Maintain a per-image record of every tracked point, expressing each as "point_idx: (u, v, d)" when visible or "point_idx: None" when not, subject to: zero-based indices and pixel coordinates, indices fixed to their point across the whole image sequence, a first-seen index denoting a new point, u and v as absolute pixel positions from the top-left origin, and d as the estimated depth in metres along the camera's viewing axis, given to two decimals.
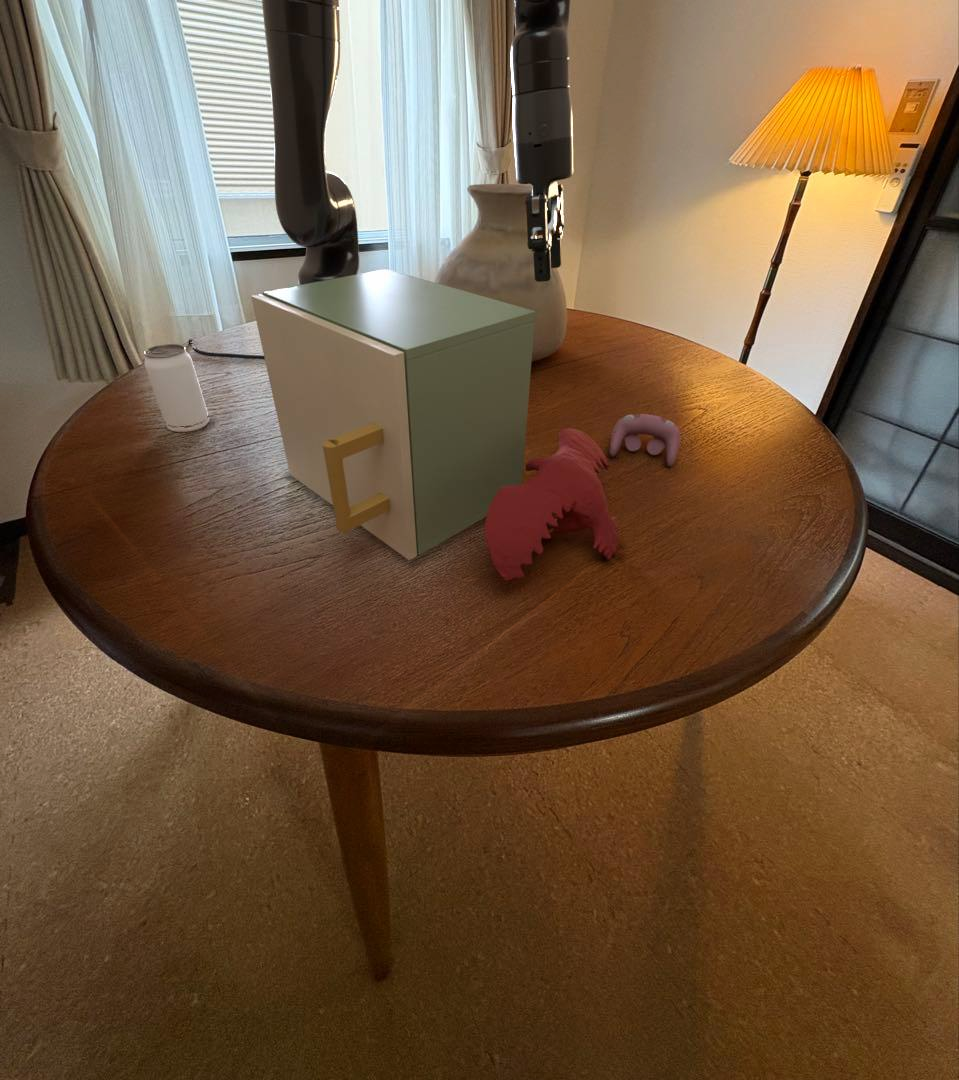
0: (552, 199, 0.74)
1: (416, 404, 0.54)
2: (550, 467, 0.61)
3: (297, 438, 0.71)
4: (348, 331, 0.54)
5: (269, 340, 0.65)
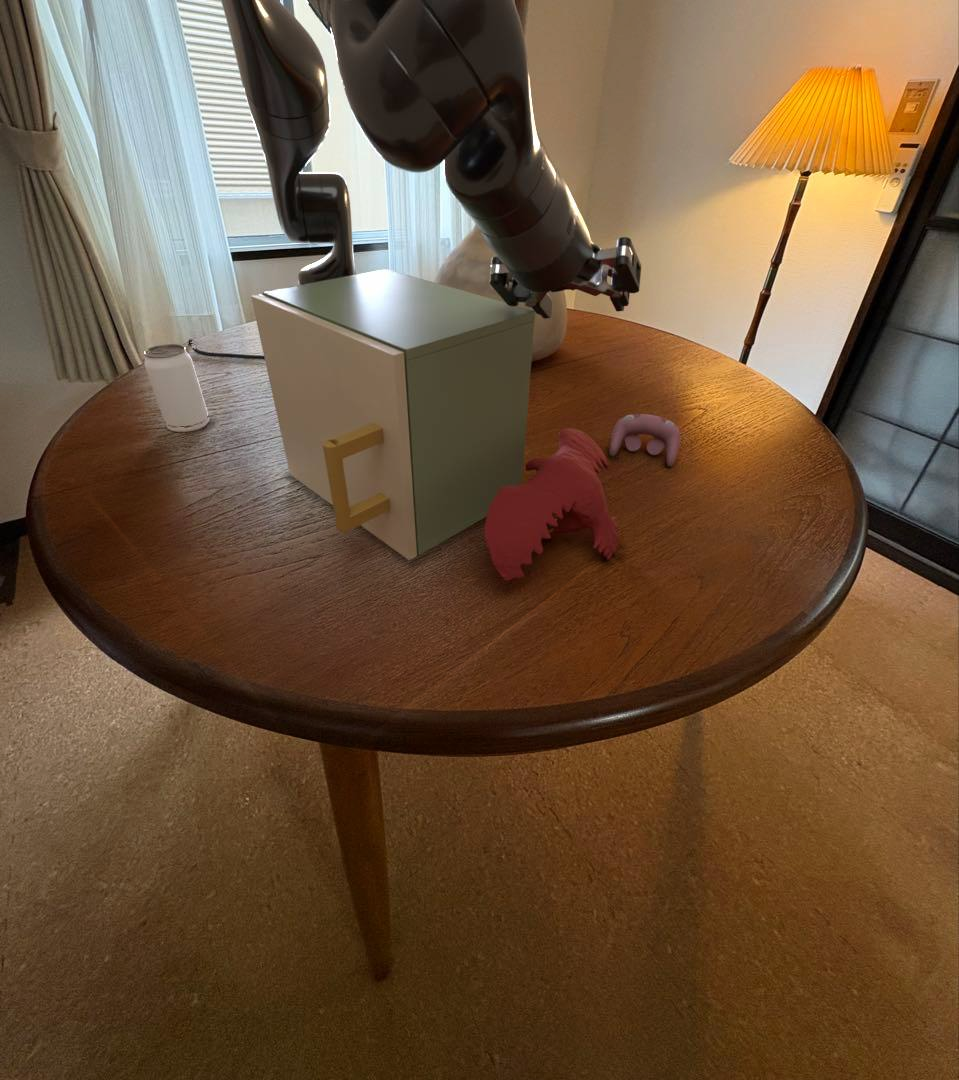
0: None
1: (416, 404, 0.54)
2: (550, 467, 0.61)
3: (297, 438, 0.71)
4: (348, 331, 0.54)
5: (269, 340, 0.65)
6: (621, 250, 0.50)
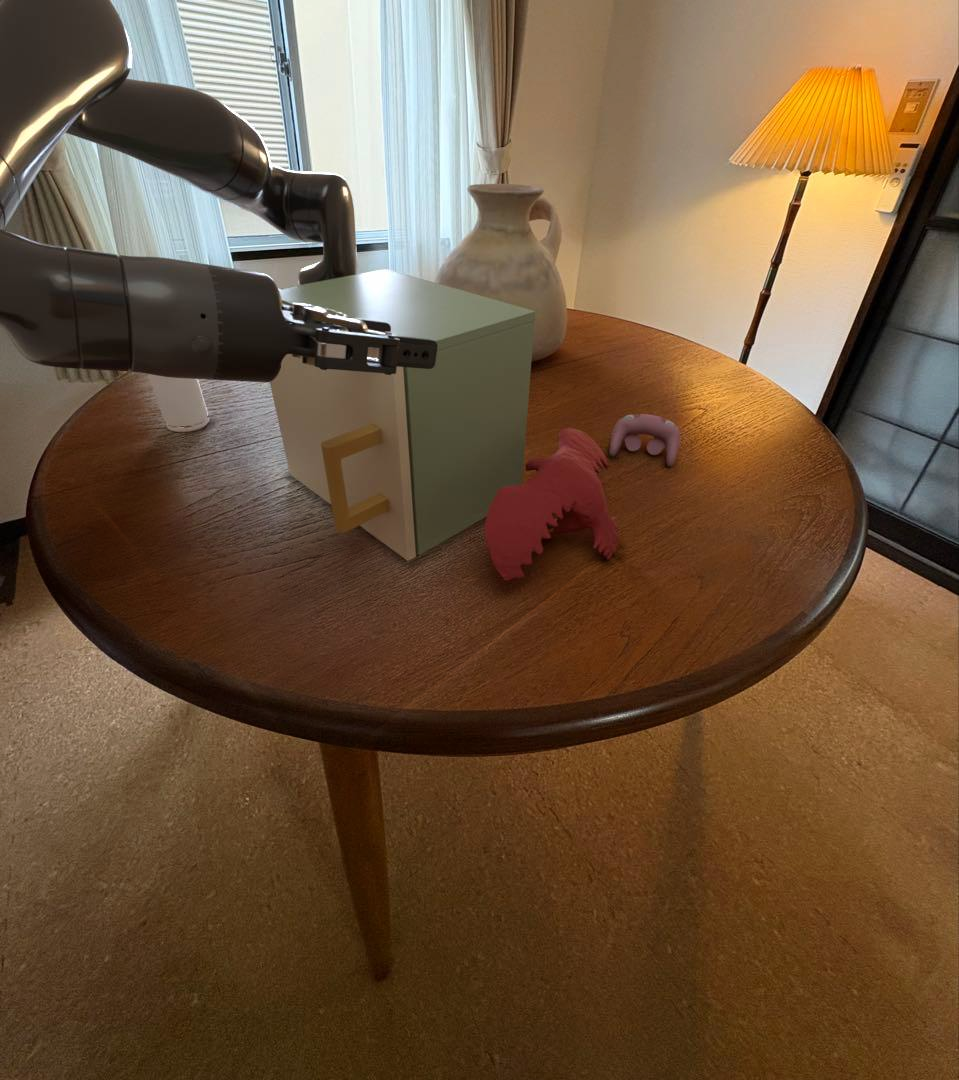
0: None
1: (416, 404, 0.54)
2: (550, 467, 0.61)
3: (297, 439, 0.71)
4: None
5: None
6: (315, 347, 0.38)
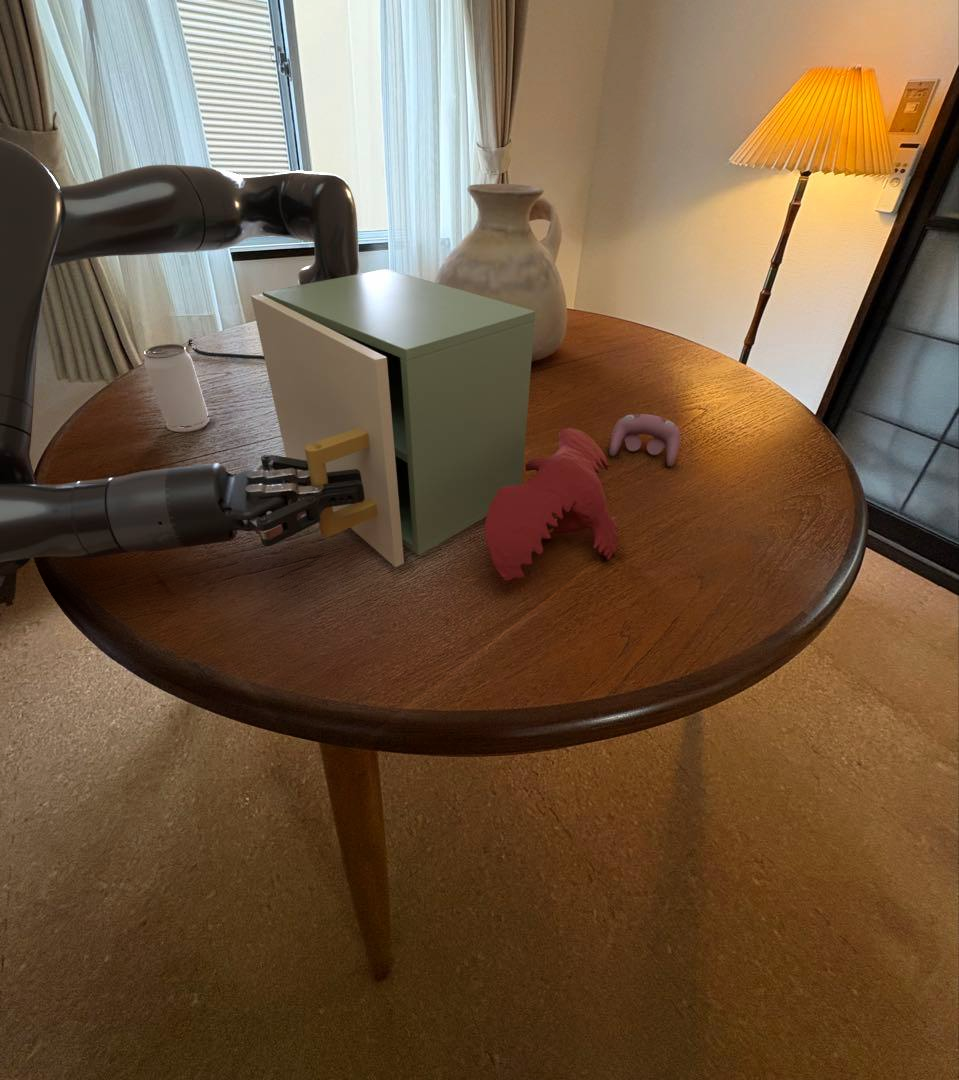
0: None
1: (416, 404, 0.54)
2: (550, 467, 0.61)
3: (294, 439, 0.71)
4: (336, 334, 0.54)
5: (268, 341, 0.65)
6: (260, 534, 0.50)
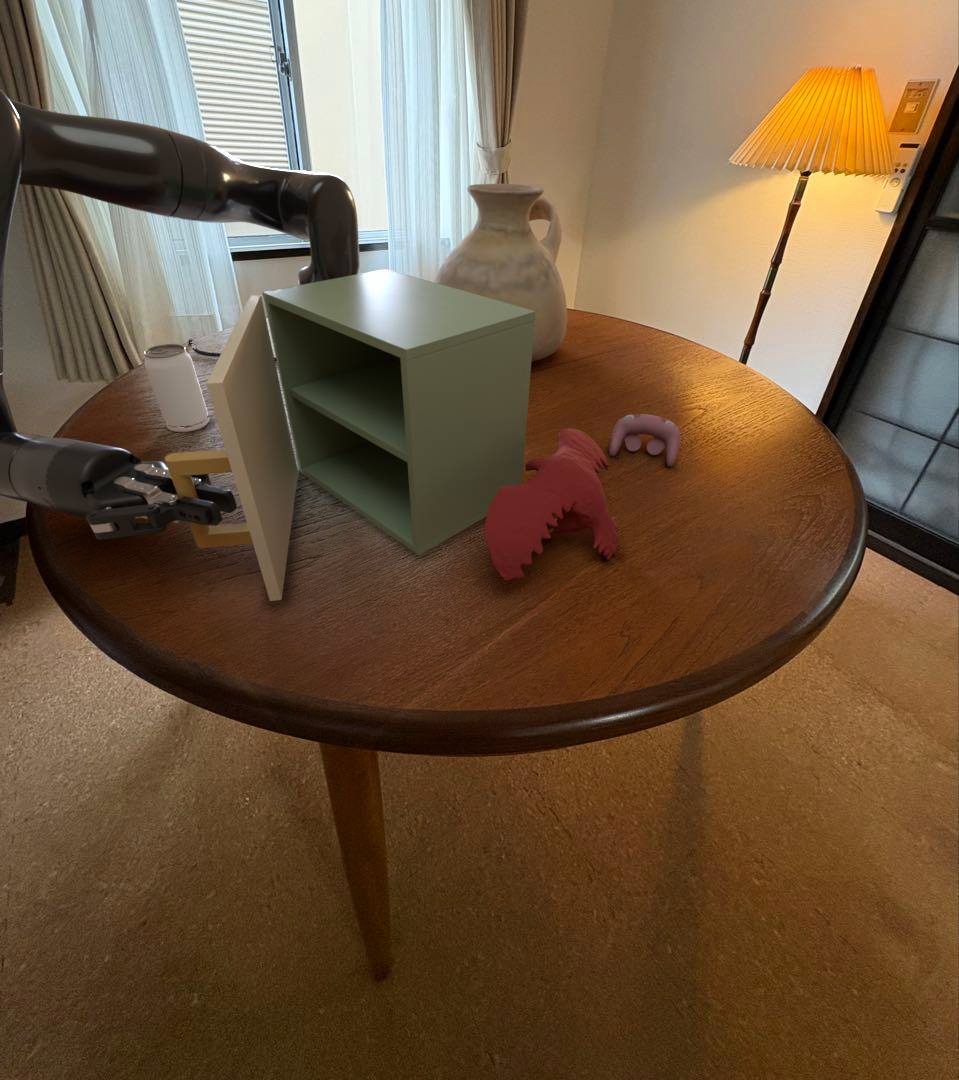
0: None
1: (416, 404, 0.54)
2: (550, 467, 0.61)
3: None
4: (233, 347, 0.50)
5: None
6: (91, 526, 0.50)
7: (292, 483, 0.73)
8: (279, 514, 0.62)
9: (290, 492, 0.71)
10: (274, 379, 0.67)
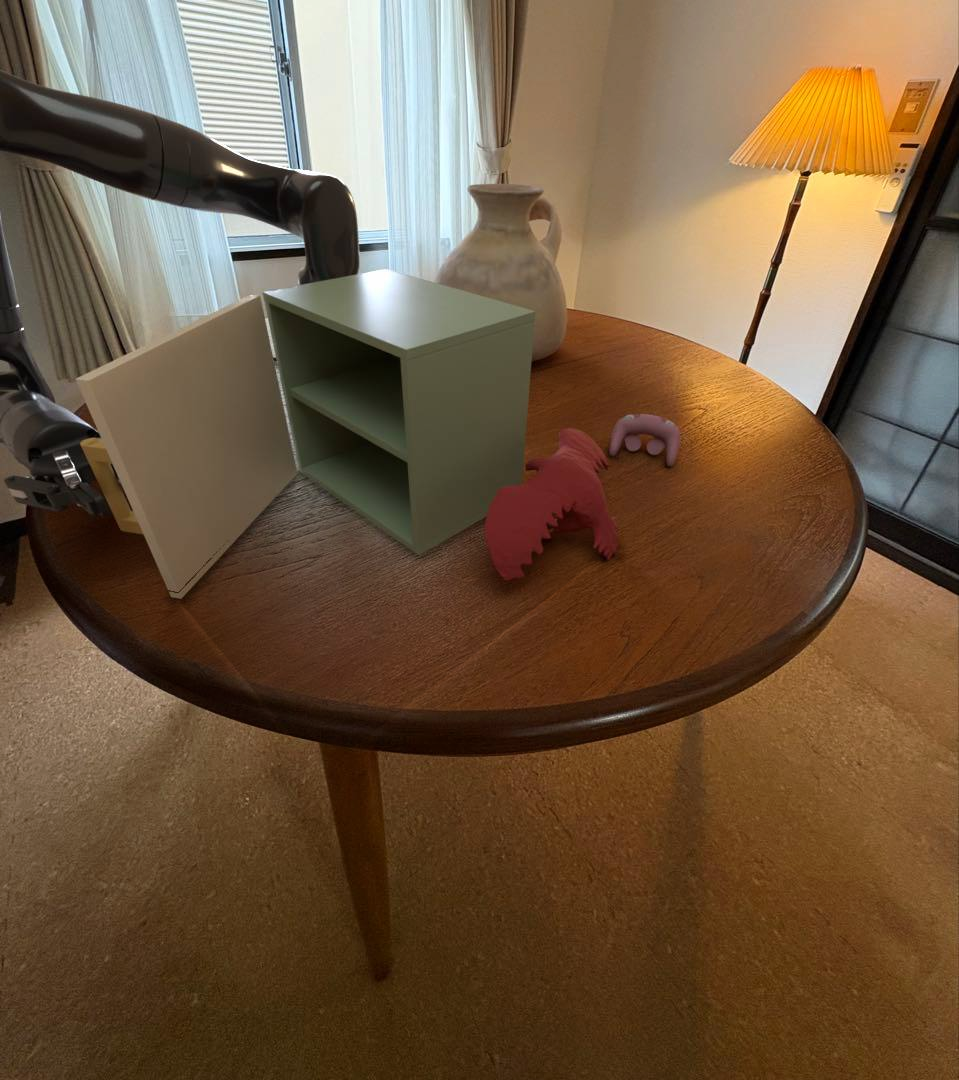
0: None
1: (416, 404, 0.54)
2: (550, 467, 0.61)
3: None
4: (153, 346, 0.50)
5: None
6: None
7: (273, 484, 0.73)
8: (215, 514, 0.62)
9: (262, 492, 0.71)
10: (264, 380, 0.67)
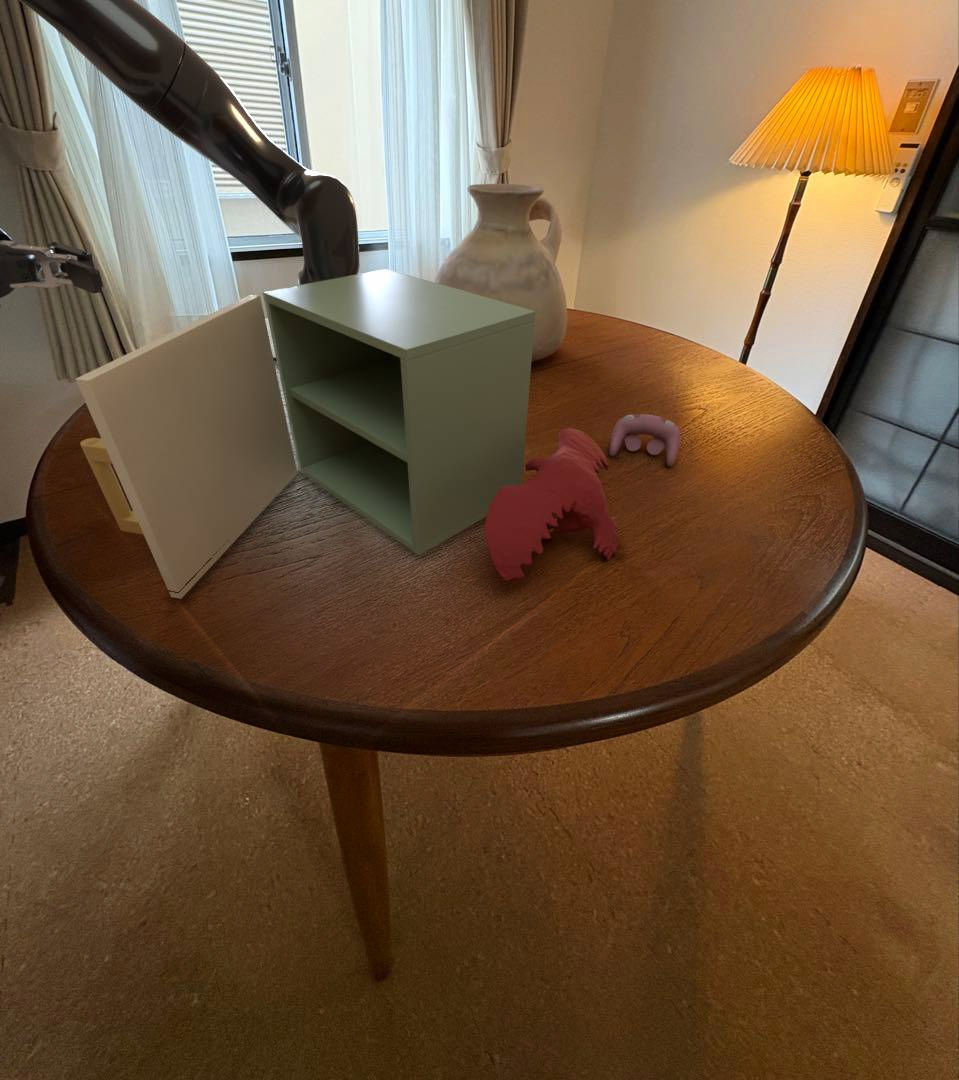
0: None
1: (416, 404, 0.54)
2: (550, 467, 0.61)
3: None
4: (153, 346, 0.50)
5: None
6: None
7: (273, 484, 0.73)
8: (215, 514, 0.62)
9: (262, 492, 0.71)
10: (264, 380, 0.67)
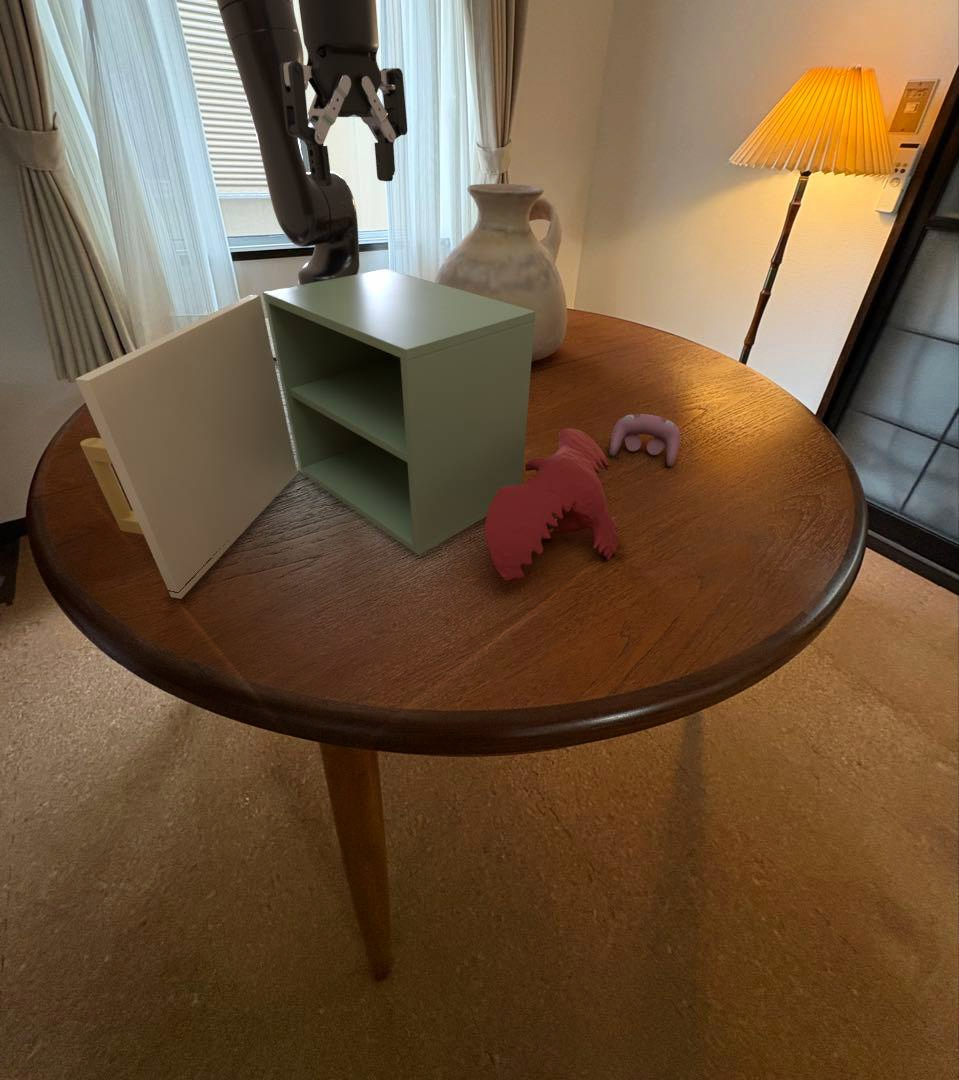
0: (337, 77, 0.57)
1: (416, 404, 0.54)
2: (550, 467, 0.61)
3: None
4: (153, 346, 0.50)
5: None
6: (391, 68, 0.62)
7: (273, 484, 0.73)
8: (215, 514, 0.62)
9: (262, 492, 0.71)
10: (264, 380, 0.67)
